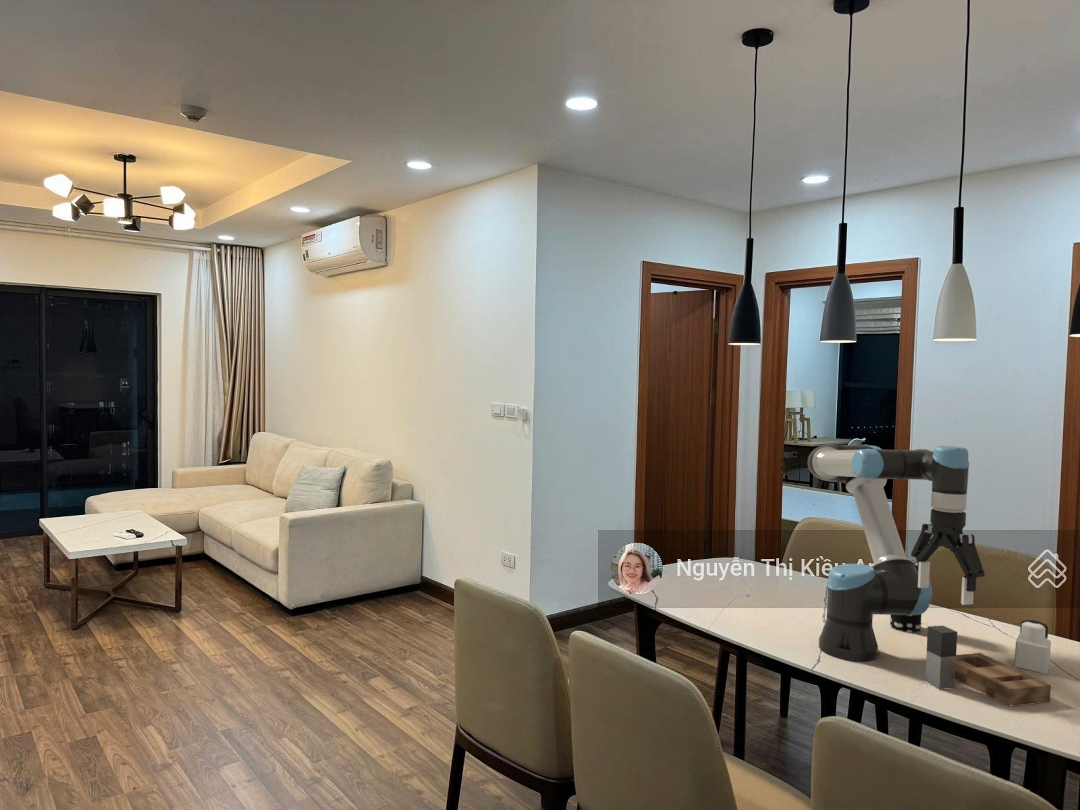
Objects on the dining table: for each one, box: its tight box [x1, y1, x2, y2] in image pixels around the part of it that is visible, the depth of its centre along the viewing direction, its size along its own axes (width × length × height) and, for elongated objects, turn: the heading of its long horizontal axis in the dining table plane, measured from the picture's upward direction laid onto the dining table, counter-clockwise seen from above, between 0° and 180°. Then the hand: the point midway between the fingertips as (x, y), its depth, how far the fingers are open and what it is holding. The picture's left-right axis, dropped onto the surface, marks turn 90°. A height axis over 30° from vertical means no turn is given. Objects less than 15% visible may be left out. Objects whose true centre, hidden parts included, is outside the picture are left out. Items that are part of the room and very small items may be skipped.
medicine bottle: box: [1014, 619, 1052, 675], centre depth 191 cm, size 7×7×12 cm
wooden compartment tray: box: [955, 652, 1052, 707], centre depth 178 cm, size 12×20×4 cm, turn 14°
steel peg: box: [924, 625, 958, 690], centre depth 177 cm, size 4×4×14 cm
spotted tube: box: [889, 559, 922, 633], centre depth 218 cm, size 8×8×20 cm
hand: (944, 595), depth 177 cm, fingers open, 13 cm apart
